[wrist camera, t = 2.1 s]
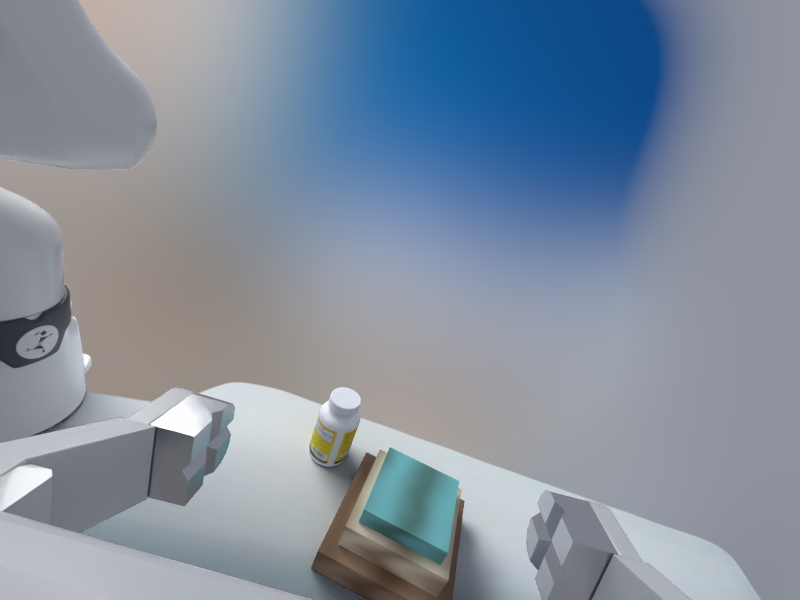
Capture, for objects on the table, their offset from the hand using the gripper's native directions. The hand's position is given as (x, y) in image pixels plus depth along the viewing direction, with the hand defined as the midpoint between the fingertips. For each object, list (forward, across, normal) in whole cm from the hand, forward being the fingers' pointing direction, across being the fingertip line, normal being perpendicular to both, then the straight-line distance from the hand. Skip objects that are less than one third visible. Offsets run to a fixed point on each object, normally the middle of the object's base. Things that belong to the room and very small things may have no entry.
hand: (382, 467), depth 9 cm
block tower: (+28, -5, +30) cm, 41 cm away
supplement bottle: (+36, +6, +28) cm, 46 cm away
